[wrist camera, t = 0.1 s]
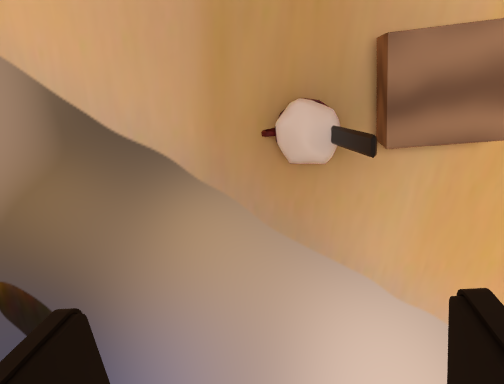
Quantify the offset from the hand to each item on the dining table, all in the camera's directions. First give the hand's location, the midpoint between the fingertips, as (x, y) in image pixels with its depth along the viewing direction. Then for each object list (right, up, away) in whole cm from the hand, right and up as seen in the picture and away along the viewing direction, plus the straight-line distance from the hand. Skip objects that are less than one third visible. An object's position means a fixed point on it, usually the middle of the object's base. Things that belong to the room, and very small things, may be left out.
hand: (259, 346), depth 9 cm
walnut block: (+17, +15, +26) cm, 35 cm away
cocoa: (+6, +11, +29) cm, 31 cm away
